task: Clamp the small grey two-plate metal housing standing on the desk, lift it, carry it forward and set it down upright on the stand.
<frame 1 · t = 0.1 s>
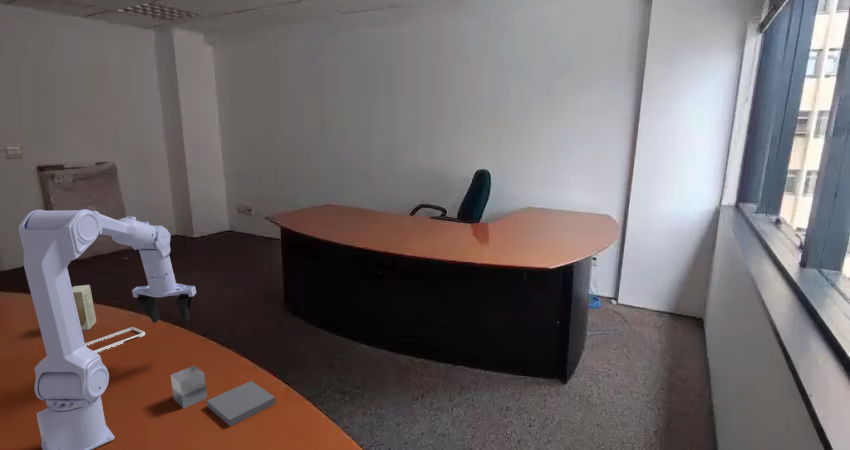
hand: (171, 320, 114), 11 cm above the table, tool pointing down, fingers open, 7 cm apart
skincare box: (84, 327, 135), on the table
stand: (241, 405, 96), on the table
housing: (190, 398, 98), on the table
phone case: (111, 344, 125), on the table
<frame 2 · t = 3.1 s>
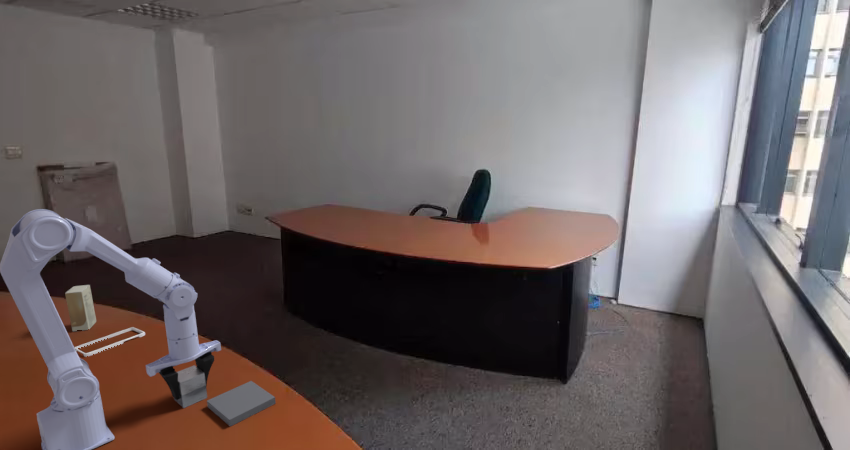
hand: (189, 391, 98), 2 cm above the table, tool pointing down, fingers closed on housing, 5 cm apart
housing: (190, 398, 98), on the table, touching gripper
everything else where it was.
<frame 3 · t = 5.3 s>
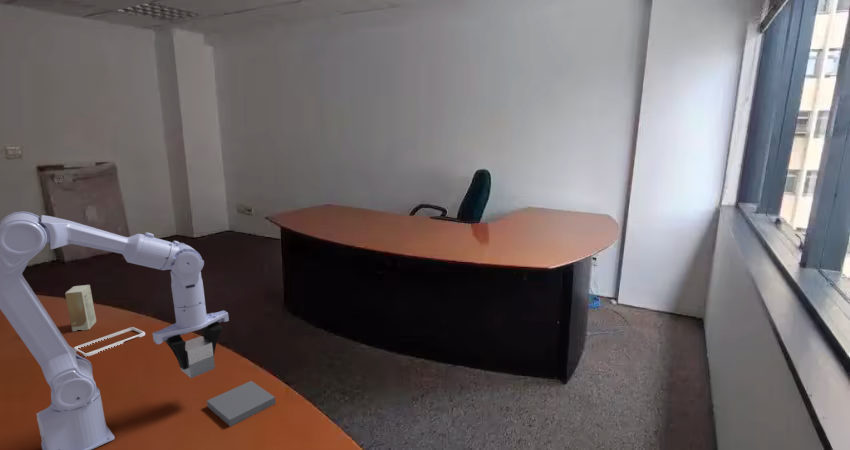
hand: (197, 362, 96), 9 cm above the table, tool pointing down, fingers closed on housing, 5 cm apart
housing: (198, 369, 96), point 7 cm above the table, touching gripper
everything else where it was.
when the fingers open (5 cm above the table, at t = 7.6 s): housing drops 2 cm, resting on stand.
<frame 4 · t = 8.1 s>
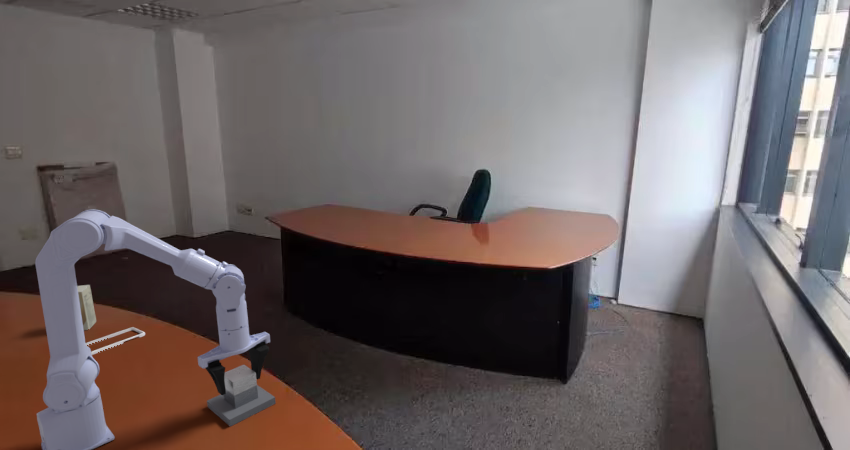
hand: (239, 384, 95), 5 cm above the table, tool pointing down, fingers open, 7 cm apart
housing: (241, 398, 96), point 1 cm above the table, touching stand
everything else where it was.
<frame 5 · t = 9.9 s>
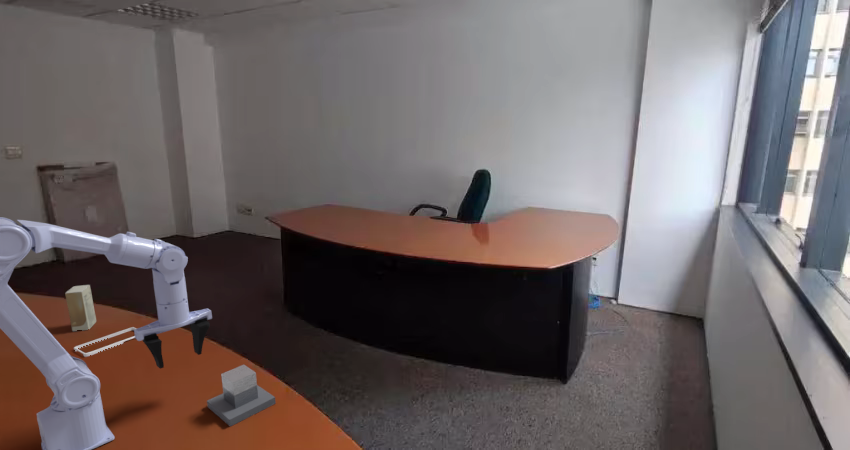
hand: (179, 359, 96), 9 cm above the table, tool pointing down, fingers open, 7 cm apart
nothing on the table moved.
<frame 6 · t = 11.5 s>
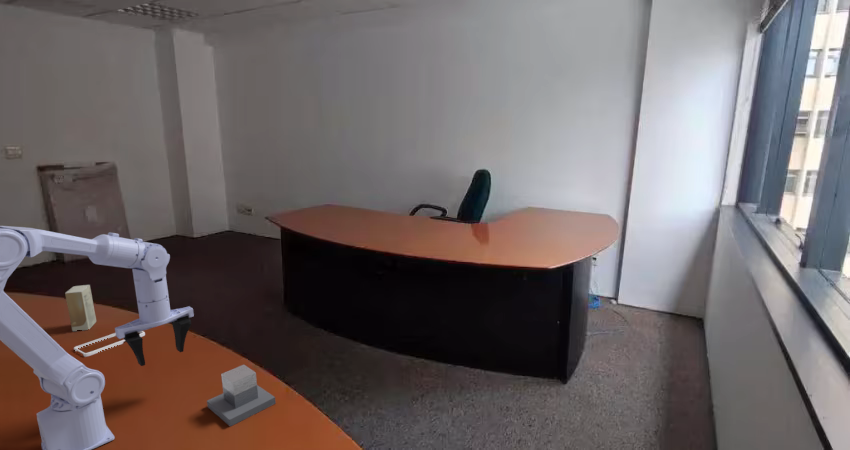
hand: (161, 357, 97), 9 cm above the table, tool pointing down, fingers open, 7 cm apart
nothing on the table moved.
at the end: housing inside the target area on the stand (0.1 cm from its centre), point 1.5 cm above the stand's base; housing tilted 0°; the gripper is holding nothing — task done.
